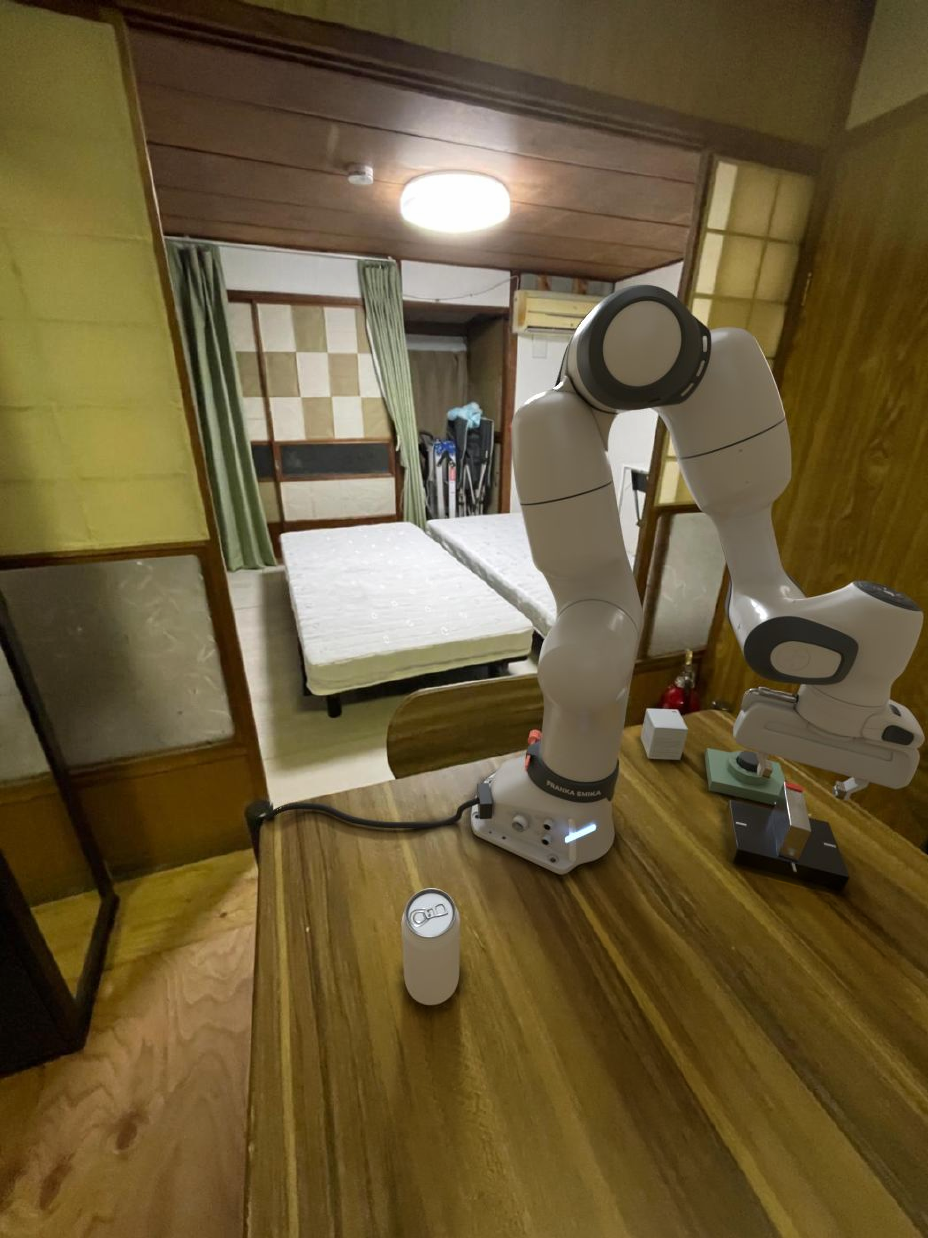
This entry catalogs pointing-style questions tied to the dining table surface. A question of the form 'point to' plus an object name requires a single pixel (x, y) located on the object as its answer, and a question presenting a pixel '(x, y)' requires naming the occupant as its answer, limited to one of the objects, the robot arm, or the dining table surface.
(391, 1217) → the dining table surface
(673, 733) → the product box
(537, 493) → the robot arm
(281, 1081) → the dining table surface
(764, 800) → the button block
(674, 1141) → the dining table surface
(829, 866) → the base
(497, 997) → the dining table surface
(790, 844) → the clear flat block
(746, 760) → the button
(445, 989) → the can
